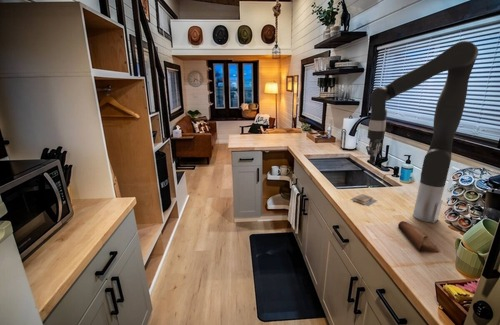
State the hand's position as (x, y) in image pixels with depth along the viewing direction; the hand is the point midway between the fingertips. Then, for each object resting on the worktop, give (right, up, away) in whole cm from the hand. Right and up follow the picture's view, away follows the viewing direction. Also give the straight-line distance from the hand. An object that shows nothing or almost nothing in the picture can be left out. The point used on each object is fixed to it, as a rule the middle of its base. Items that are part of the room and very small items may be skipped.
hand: (372, 162), depth 132 cm
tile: (0, -19, +7) cm, 20 cm away
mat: (-2, -21, +5) cm, 21 cm away
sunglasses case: (+5, -32, -28) cm, 42 cm away
